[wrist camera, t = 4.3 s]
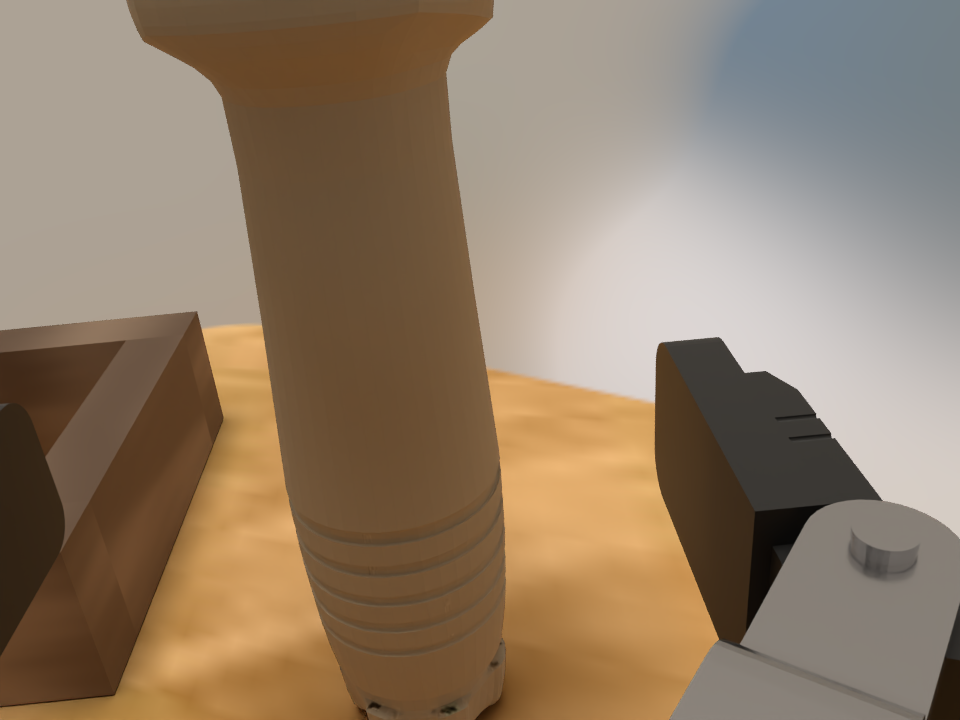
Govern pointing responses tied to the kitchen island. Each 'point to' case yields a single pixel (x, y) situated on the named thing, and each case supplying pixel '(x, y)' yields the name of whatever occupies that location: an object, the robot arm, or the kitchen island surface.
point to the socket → (106, 486)
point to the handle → (367, 328)
